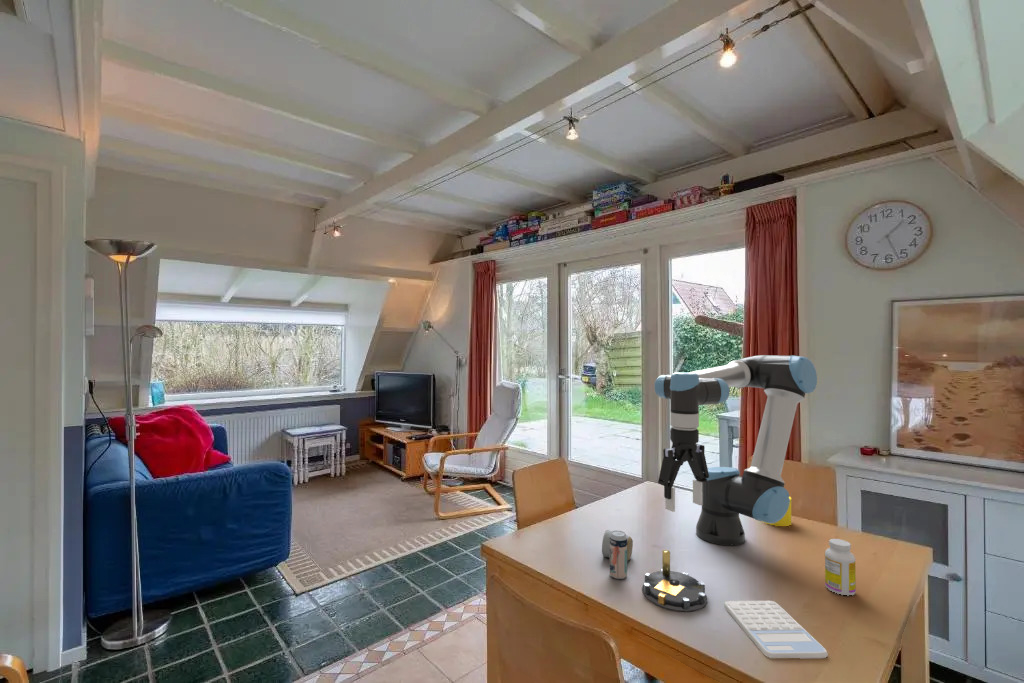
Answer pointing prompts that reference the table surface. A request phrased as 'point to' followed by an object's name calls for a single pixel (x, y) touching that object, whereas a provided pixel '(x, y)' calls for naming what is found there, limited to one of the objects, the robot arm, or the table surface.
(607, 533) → the ceramic mug
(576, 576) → the table surface
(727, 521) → the robot arm
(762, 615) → the calculator
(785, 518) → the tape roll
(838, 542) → the supplement bottle
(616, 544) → the beer can
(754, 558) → the table surface
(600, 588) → the table surface
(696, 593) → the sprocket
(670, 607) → the hub plate
